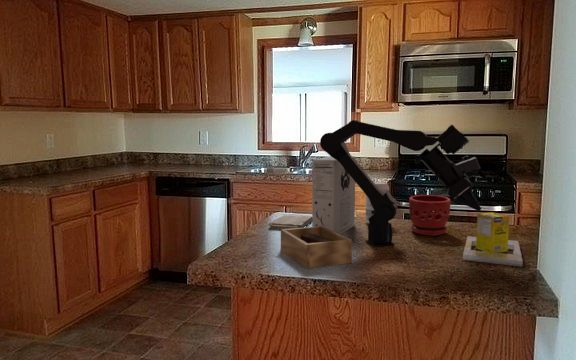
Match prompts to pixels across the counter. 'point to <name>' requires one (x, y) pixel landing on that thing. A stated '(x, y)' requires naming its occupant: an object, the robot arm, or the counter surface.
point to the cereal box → (332, 196)
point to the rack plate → (493, 254)
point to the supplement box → (492, 232)
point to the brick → (314, 238)
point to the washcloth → (290, 222)
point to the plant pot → (429, 214)
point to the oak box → (316, 247)
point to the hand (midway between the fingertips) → (478, 207)
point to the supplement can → (369, 209)
